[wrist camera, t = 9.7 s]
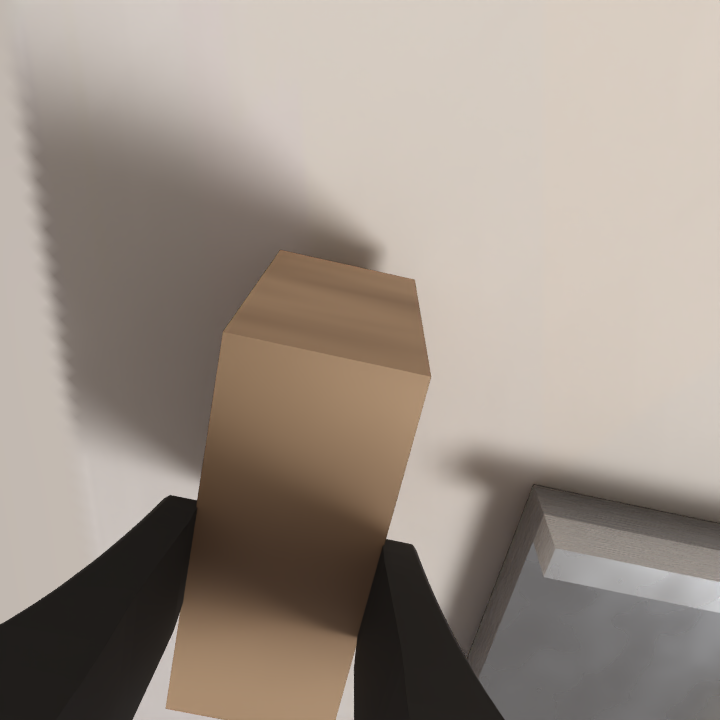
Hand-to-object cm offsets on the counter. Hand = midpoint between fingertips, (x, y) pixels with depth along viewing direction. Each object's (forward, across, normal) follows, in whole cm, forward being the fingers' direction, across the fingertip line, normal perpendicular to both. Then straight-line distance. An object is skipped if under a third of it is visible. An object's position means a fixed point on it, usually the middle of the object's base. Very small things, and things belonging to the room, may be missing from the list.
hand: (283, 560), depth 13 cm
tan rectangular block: (+6, 0, 0) cm, 6 cm away
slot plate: (+7, -12, +8) cm, 16 cm away
